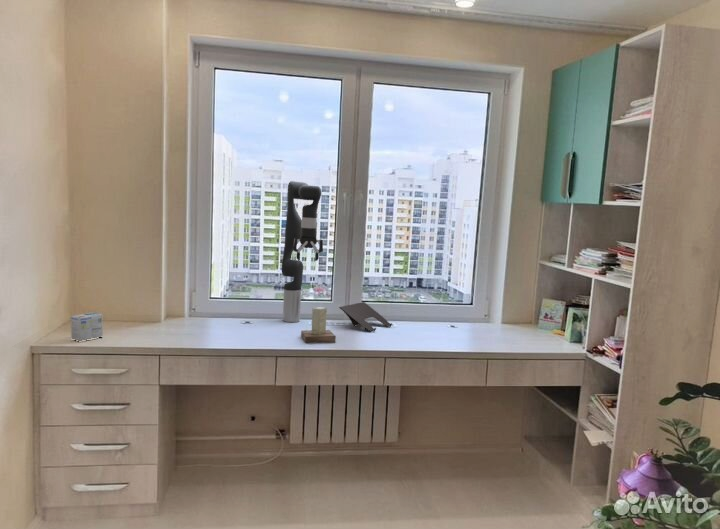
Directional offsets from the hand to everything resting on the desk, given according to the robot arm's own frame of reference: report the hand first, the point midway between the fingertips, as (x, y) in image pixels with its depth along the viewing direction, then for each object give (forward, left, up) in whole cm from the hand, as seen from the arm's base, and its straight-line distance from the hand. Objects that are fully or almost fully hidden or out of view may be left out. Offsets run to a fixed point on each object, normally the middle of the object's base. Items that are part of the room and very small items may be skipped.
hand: (307, 260), depth 249 cm
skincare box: (+13, +4, -33) cm, 36 cm away
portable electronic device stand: (-11, +36, -37) cm, 53 cm away
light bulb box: (+3, -96, -36) cm, 103 cm away
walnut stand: (+13, +4, -36) cm, 39 cm away
